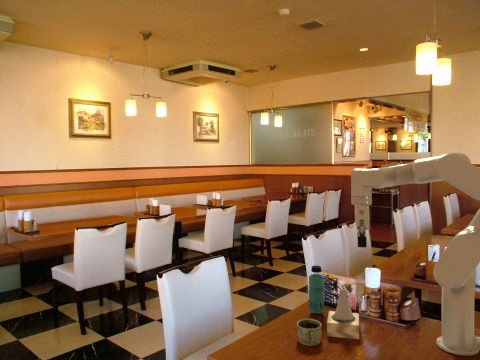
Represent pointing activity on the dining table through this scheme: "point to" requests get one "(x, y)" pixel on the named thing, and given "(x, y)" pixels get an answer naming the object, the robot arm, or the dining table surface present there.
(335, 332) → the pedestal
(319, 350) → the dining table surface
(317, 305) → the beverage bottle
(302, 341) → the vessel
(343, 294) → the flask
